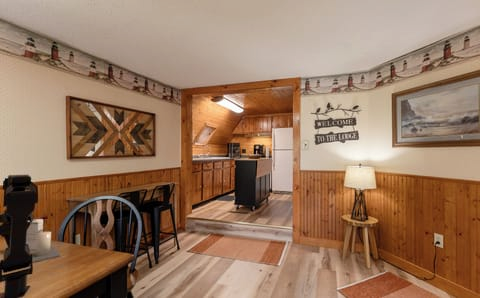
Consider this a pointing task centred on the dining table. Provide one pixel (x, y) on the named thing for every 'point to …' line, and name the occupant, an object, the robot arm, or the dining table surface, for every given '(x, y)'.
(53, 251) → the placemat
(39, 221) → the syrup box
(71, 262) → the dining table surface
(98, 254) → the dining table surface
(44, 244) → the candle jar
